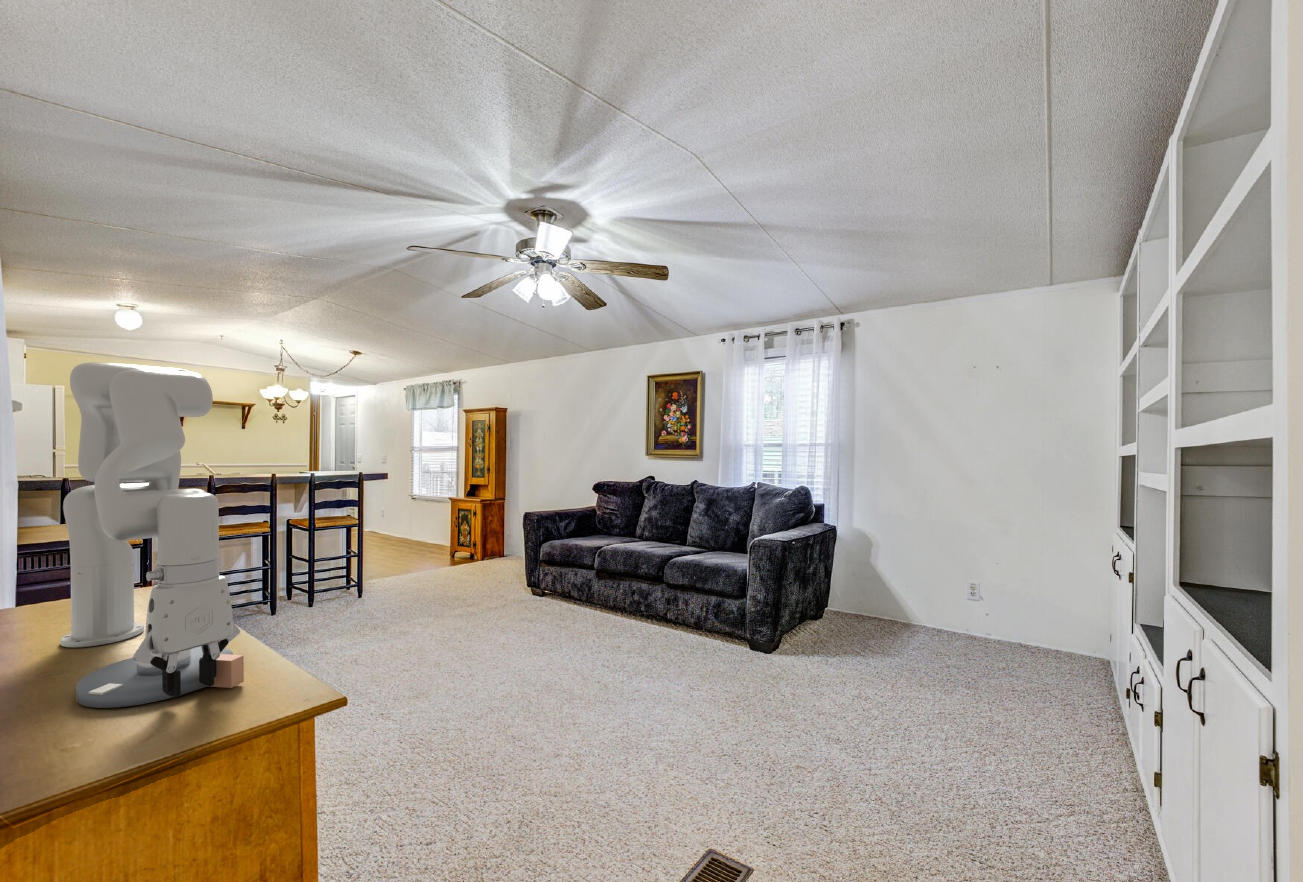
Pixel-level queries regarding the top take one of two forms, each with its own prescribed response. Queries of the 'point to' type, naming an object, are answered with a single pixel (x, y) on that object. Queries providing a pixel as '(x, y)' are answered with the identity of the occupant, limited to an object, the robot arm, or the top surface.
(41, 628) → the top surface
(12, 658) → the top surface
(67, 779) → the top surface
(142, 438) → the robot arm
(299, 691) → the top surface
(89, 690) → the turntable
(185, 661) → the cover
